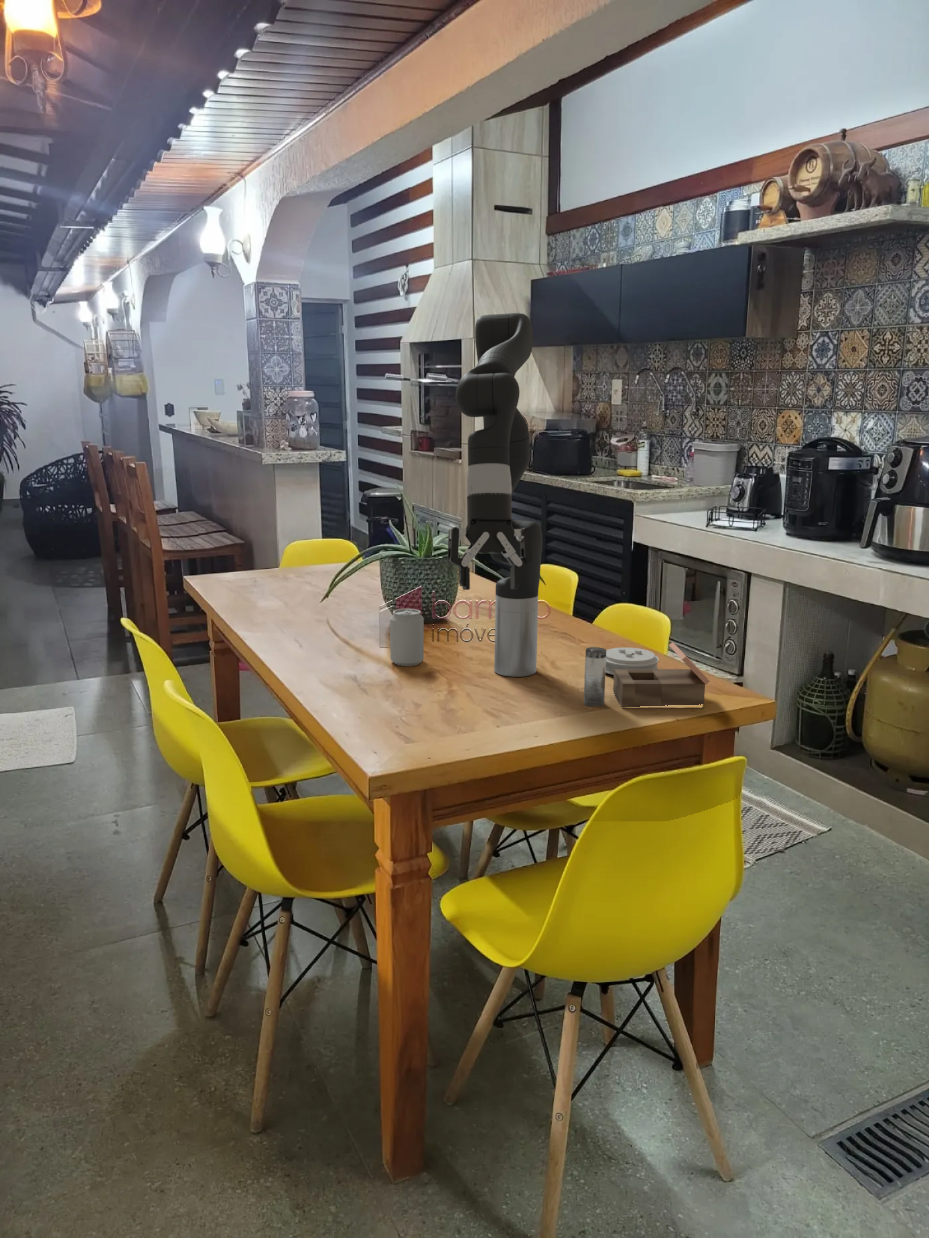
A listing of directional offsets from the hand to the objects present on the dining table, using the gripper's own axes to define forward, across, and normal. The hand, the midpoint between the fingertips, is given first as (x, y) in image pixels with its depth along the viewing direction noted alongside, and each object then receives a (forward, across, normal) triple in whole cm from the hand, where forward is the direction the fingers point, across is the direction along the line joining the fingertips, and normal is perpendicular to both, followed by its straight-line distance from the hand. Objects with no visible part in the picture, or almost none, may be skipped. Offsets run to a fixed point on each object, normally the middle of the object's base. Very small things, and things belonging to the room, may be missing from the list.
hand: (490, 589), depth 162 cm
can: (+16, +2, -58) cm, 60 cm away
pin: (+23, -27, -21) cm, 41 cm away
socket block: (+22, -40, -19) cm, 50 cm away
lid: (+18, -43, -39) cm, 61 cm away
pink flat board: (+15, -46, -16) cm, 51 cm away
